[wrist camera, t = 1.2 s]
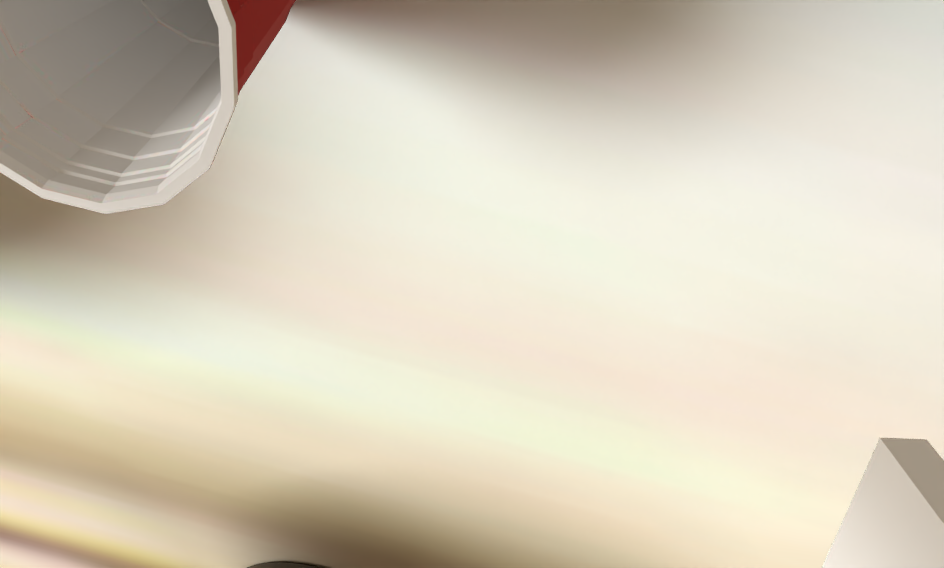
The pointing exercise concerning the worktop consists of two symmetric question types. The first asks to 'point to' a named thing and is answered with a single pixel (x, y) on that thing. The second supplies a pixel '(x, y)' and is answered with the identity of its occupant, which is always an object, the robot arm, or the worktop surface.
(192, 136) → the plastic cup
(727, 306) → the worktop surface
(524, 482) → the worktop surface
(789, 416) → the worktop surface
